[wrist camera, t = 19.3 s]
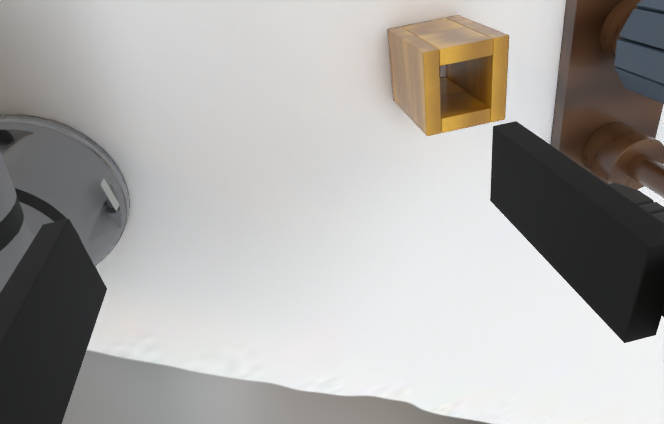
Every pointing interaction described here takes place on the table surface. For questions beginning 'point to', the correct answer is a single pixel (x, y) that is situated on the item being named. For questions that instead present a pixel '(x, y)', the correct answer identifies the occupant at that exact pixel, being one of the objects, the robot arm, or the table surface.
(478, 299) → the table surface
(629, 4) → the peg stand
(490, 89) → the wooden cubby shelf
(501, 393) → the table surface
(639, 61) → the blue ring
